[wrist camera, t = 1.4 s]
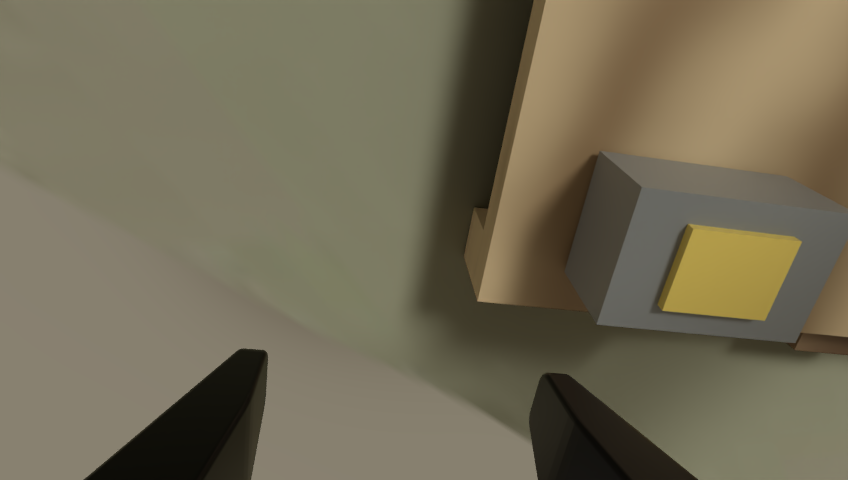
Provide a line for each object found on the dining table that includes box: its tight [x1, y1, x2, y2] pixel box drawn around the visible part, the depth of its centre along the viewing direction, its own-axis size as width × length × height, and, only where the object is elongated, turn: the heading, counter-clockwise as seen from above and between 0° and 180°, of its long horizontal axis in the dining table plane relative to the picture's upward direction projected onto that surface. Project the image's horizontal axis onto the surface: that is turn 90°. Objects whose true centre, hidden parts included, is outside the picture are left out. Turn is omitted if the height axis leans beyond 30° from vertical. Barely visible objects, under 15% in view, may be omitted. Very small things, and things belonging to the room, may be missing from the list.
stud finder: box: [564, 151, 848, 343], centre depth 17 cm, size 6×4×3 cm, turn 81°
